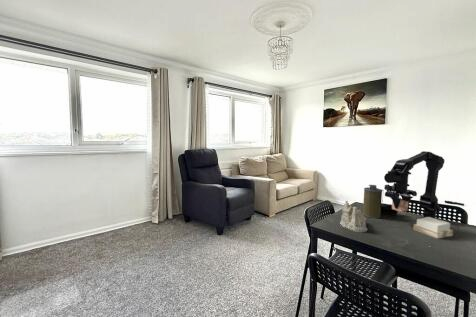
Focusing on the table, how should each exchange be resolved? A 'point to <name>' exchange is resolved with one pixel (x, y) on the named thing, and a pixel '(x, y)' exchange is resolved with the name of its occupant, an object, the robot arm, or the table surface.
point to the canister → (372, 202)
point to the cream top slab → (433, 224)
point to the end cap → (388, 210)
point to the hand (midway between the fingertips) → (399, 208)
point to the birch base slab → (433, 232)
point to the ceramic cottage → (353, 218)
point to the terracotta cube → (401, 206)
